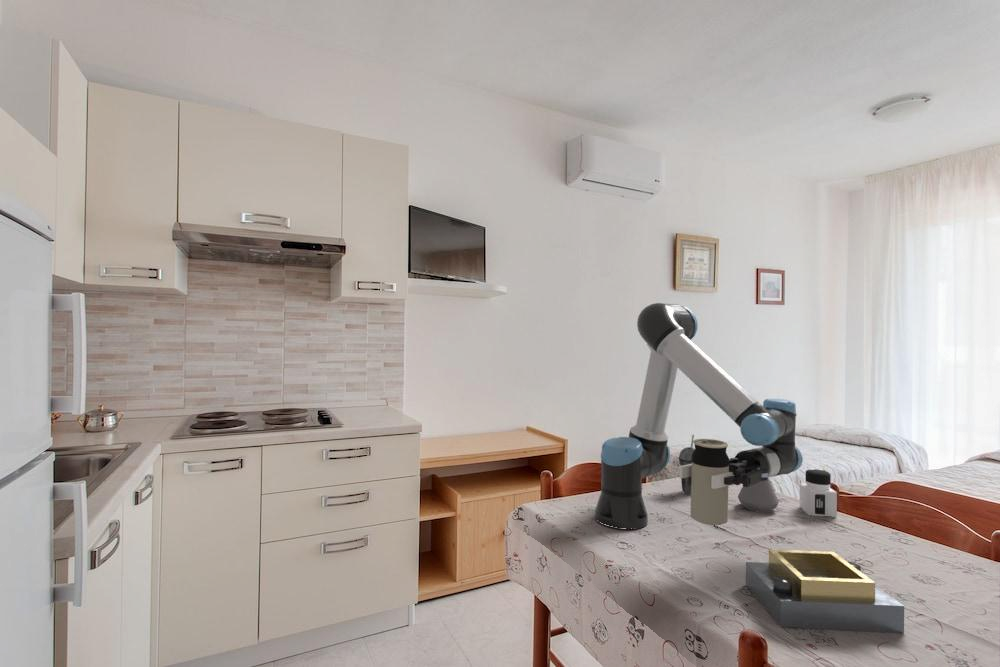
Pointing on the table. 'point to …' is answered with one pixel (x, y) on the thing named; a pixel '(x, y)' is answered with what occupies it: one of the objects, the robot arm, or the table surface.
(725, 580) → the table surface
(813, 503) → the container
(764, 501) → the coffee pot
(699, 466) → the travel mug
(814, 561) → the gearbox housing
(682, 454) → the beverage cup
